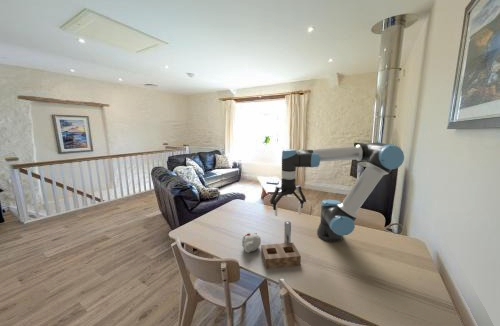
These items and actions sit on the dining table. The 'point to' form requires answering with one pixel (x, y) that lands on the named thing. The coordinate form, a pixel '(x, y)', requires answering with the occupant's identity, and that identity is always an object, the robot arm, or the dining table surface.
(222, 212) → the dining table surface
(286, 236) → the pin
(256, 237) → the white lumpy figurine
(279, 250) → the bore block
